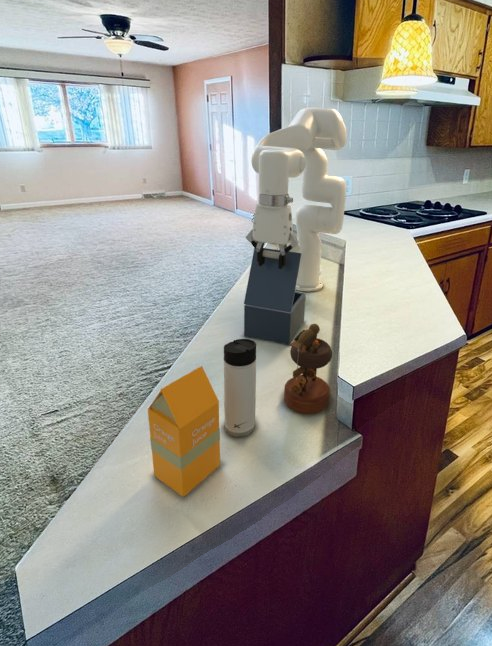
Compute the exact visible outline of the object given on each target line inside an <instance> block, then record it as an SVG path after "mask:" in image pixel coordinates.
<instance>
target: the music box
mask: <svg viewBox="0 0 492 646" xmlns="http://www.w3.org/2000/svg"><path fill="white" fill-rule="evenodd" d="M320 330H321V328H320V326H319V324H317V323H312V324H310V325H309V327H308V328H307V329H306V328H305V329H302V330H301V331H300V332H299V333H297V334H296V335H295V337H294V338H293V341H292V342H291V343H290V344H289V345H288V346H289V347H290V350H289V351H290V352H289V353H290V357H291V360H292V361H293V362H294V364H296V365H297V366H296V369H294V370H293V371H292V377H291V378H289V379H288V380H287V381H286V383H285V384H284V392H283V401H284V404H285V405H286V407H288V409H289V410H291V411H293V412H295V413H298V414H302V415H315V414H318V413H321V412H323V411H324V410H325V409H327V408H328V406H329V403H330V397H331V396H330V394H331V387H330V385H329V384H328V383H327V382H326V381H325V380H324V379H322V378H321V377H319V376H317V372H318V370H319V369H321V368H324V367H326V366H327V365H328V364H329V363H330V362H331V360H332V358H333V349H332V346H331V345H330V344H329V343H328V342H327V341H326V340H323V339H321V338H318V334H319V333H320ZM317 369H318V370H317Z"/></svg>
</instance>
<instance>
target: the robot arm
mask: <svg viewBox="0 0 492 646" xmlns="http://www.w3.org/2000/svg"><path fill="white" fill-rule="evenodd" d="M347 135H348V132H347V127H346V125H345V122H344V120H343V117H342V115H341V114H340V113H339V111H337V109H335V108H323V107H304V108H301V109H300V110H299V111H298V112H297V113H296V114H295V116H294V117H293V118H292V120H291V121H290V122H289V124H288V126H285V127H282V128H280V129H277V130H275V131H272V132H269V133H267V134H265V135H264V136H263V137H262V138H260V140H259V141H258V142H257V144H256V146H255V147H254V149H253V151H252V154H251V160H250V161H251V167H252V169H253V171H254V172H255V173H256V174H258V202H257V203H256V205H255V209H254V214H253V221H252V222H253V223H252V229H251V230H250V231H249V232H248V234H247V235H246V236H245V240H247V241H248V242H249V243H250V244H251V245H252V247H253V249H254V248H255V249H256V251H257V262H259V266H262V265H263V264H264V263H265V257H263V251H264V250H265V249H264V248H265V247H264V246H265V244H273V245H277V244H279V247H278V249H279V248H280V255H279V265H278V268H279V269H282V268H283V267H284V266H285V265H286V253H287V252H289V251H290V250H291V249H293V248H294V247H296V246H297V245H299V247H300V251H298V252H297V253H301V254H302V255H301V261H300V267H299V272H298V278H297V283H296V290H297V291H299V292H300V291H301V292H317V291H320V290H321V289H323V285H324V284H323V282H322V281H321V280H320V276H321V275H322V271H321V261H322V249H323V243H322V240H321V238H320V235H319V234H318V233H320V234H329V235H337V234H340V233H341V231H342V229H343V225H344V217H345V208H346V200H347V199H346V197H347V183H346V180H345V179H344V178H342V177H340V176H336V175H335V176H333V175H328V166H329V159H328V157H327V156H326V153H325V151H324V150H327V151H329V150H330V151H340V150H342V149H343V148H344V147H345V145H346V143H347V138H348V136H347ZM300 175H302V185H301V195H302V198H303V199H304V200H306V201H309V202H313V203H314V202H315V203H324V204H330V206H331V207H330V206H322V205H315V204H303V205H301V206H299V207H298V208H297V210H296V211H295V225H296V236H295V234H294V233H293V232H294V230H293V213H292V207H291V205H289V204H293V202H294V197H291V196H289V195H290V194H289V178H291V179H292V178H298V177H299V176H300ZM288 241H291V242H292V244H290V245H289V246H287V243H288Z"/></svg>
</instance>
